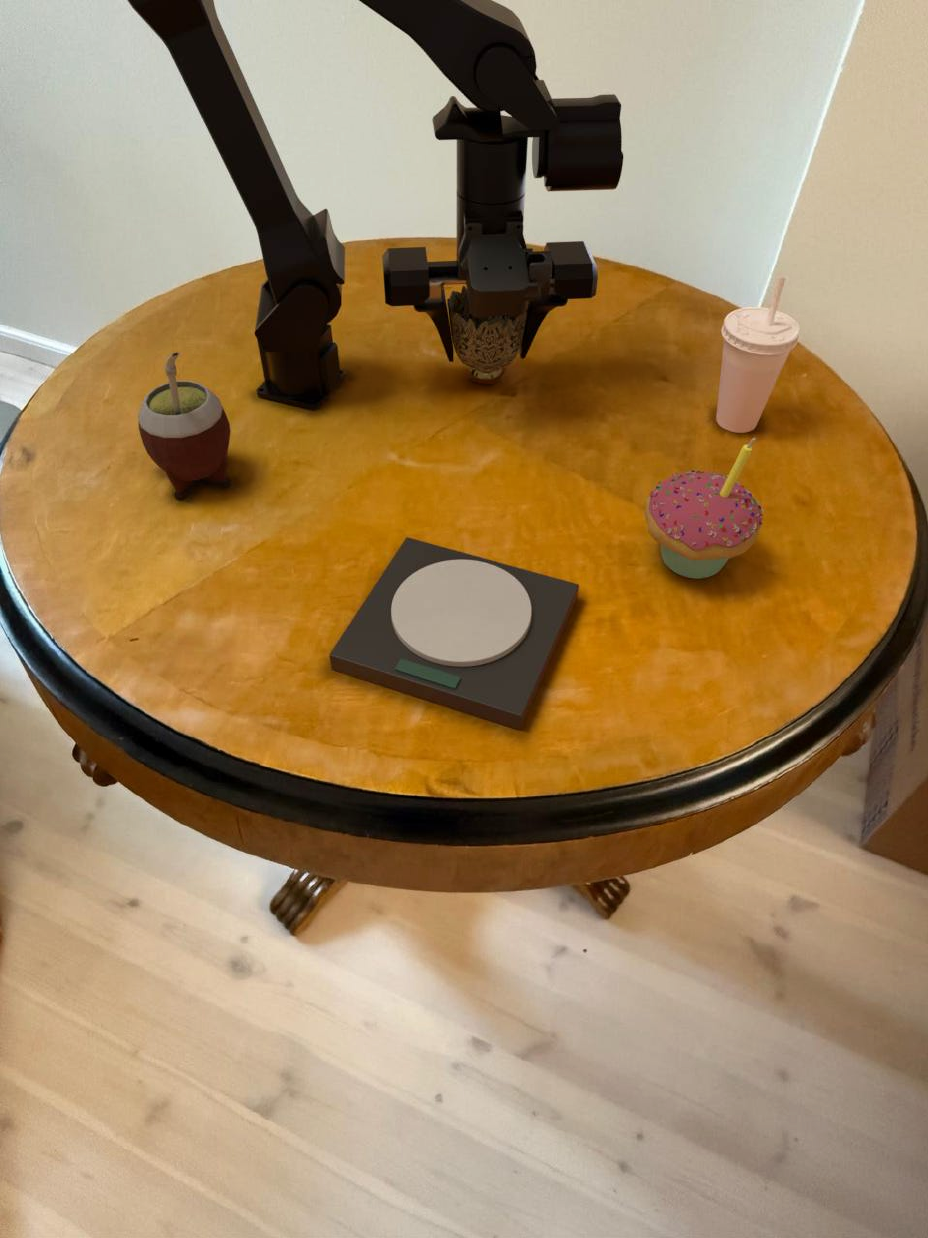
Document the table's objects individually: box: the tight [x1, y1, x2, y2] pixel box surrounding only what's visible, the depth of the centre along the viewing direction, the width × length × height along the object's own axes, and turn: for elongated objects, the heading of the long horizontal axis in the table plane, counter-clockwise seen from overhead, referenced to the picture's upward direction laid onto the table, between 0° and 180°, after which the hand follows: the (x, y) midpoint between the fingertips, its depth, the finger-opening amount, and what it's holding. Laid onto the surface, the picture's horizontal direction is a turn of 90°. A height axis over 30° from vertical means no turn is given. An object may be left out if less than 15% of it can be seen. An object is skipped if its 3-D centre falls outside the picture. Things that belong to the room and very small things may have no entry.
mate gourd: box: [137, 351, 232, 501], centre depth 71 cm, size 8×8×15 cm
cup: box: [446, 285, 529, 385], centre depth 85 cm, size 8×7×8 cm
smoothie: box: [715, 274, 801, 434], centre depth 78 cm, size 6×6×14 cm
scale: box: [328, 536, 580, 731], centre depth 64 cm, size 14×13×2 cm
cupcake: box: [644, 437, 765, 580], centre depth 66 cm, size 9×8×12 cm
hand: (486, 358), depth 86 cm, fingers closed on cup, 6 cm apart
